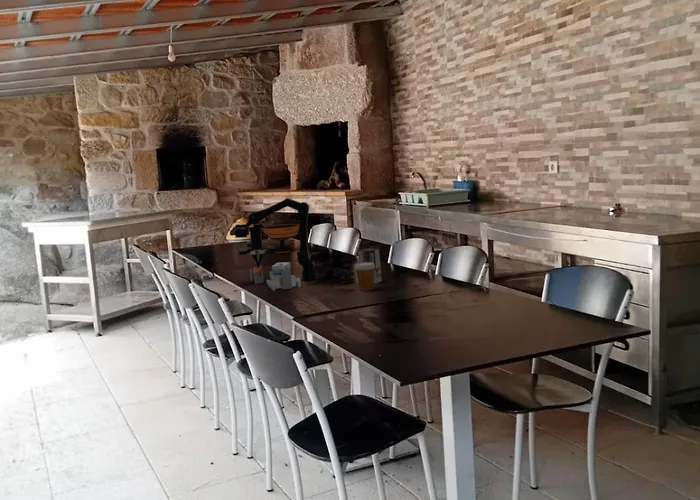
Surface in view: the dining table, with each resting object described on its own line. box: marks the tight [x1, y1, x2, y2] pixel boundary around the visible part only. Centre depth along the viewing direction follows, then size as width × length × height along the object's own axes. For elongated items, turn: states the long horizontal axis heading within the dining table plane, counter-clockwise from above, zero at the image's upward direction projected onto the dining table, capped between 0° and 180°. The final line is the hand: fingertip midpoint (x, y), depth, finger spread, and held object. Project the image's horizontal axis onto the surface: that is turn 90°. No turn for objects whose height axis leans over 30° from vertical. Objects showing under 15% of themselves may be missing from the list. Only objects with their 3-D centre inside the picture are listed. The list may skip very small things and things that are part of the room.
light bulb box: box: [271, 261, 291, 286], centre depth 326 cm, size 11×7×11 cm, turn 169°
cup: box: [261, 223, 300, 254], centre depth 443 cm, size 36×26×18 cm
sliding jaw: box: [269, 270, 302, 290], centre depth 317 cm, size 15×7×9 cm, turn 106°
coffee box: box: [357, 248, 383, 284], centre depth 317 cm, size 9×6×16 cm
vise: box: [249, 267, 302, 292], centre depth 330 cm, size 20×33×6 cm, turn 16°
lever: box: [252, 265, 264, 275], centre depth 339 cm, size 4×10×4 cm, turn 16°
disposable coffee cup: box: [354, 262, 375, 292], centre depth 301 cm, size 10×10×12 cm
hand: (258, 267), depth 335 cm, fingers closed, pressing on lever
